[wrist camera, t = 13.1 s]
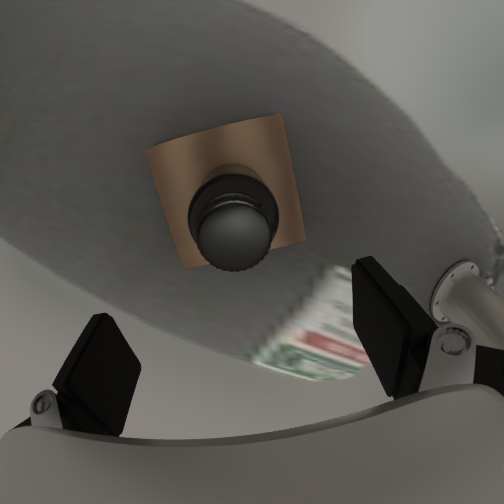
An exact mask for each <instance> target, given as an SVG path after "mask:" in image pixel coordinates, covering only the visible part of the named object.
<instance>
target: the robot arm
mask: <svg viewBox="0 0 504 504" xmlns="http://www.w3.org/2000/svg"><path fill="white" fill-rule="evenodd" d="M351 270H352V292H353V325H354V329H355V331H356V333H357V335H358V337H359V339H360V341H361V343H362V345H363V347H364V349H365V351H366V353H367V355H368V357H369V359H370V361H371V363H372V365H373V367H374V369H375V371H376V373H377V375H378V377H379V380H380V382H381V384H382V386H383V388H384V390H385V392H386V394H387V396H389V397H391V396H393V398H394V400H393V401H391V402H387V403H384V404H381V405H378V406H375V407H372V408H369V409H366V410H363V411H360V412H356V413H353V414H349V415H345V416H342V417H338V418H334V419H330V420H326V421H322V422H318V423H314V424H309V425H305V426H300V427H295V428H290V429H285V430H279V431H273V432H267V433H260V434H254V435H244V436H236V437H224V438H210V439H189V440H188V439H187V440H186V439H185V440H165V439H139V438H125V437H119V435H120V434H121V433H122V431H123V429H124V425H125V421H126V418H127V414H128V411H129V407H130V404H131V401H132V397H133V394H134V391H135V388H136V384H137V381H138V378H139V375H140V372H141V364H140V362H139V360H138V359H137V357H136V355H135V354H134V352H133V351H132V349H131V348H130V346H129V344H128V343H127V341H126V340H125V338H124V336H123V335H122V333H121V331H120V329H119V328H118V326H117V324H116V323H115V321H114V319H113V318H112V317H111V316H109V315H108V314H107V313H101V314H95V315H93V316H92V318H91V319H90V321H89V322H88V324H87V325H86V327H85V329H84V330H83V332H82V333H81V335H80V337H79V338H78V340H77V342H76V343H75V345H74V347H73V348H72V350H71V352H70V353H69V355H68V357H67V358H66V360H65V362H64V364H63V366H62V368H61V369H60V371H59V373H58V375H57V376H56V378H55V380H54V382H53V384H52V386H53V387H55V389H56V390H57V391H58V393H57V395H56V394H55V393H54V392H53V391H52V390H44V391H42V392H40V393H39V394H37V396H35V398H34V399H33V401H32V403H31V406H30V415H31V417H29V418H28V419H26V420H25V421H23V422H22V423H20V424H19V425H17V426H16V427H14V428H13V429H11V430H9V431H8V432H7V433H5V434H4V435H3V437H2V438H1V440H0V504H504V299H503V298H502V297H501V296H500V295H499V294H498V293H496V292H495V291H494V287H493V285H490V284H492V282H493V279H492V277H489V278H487V279H483V278H482V277H481V276H480V273H479V269H478V267H477V265H476V264H475V263H473V262H472V261H469V260H464V261H461V262H458V263H457V264H455V265H454V266H453V267H451V268H450V269H449V270H448V271H447V272H446V273H445V274H444V276H443V277H442V278H441V280H440V281H439V283H438V285H437V287H436V289H435V291H434V293H433V296H432V300H431V313H432V315H433V316H434V317H435V319H436V320H438V321H440V322H446V321H449V322H450V323H451V324H445V325H442V326H441V327H438V326H437V325H436V324H435V323H434V321H433V320H432V319H431V318H430V317H429V315H428V314H427V313H426V312H425V311H424V310H423V308H422V307H421V306H420V305H419V304H418V303H417V301H416V300H415V299H414V298H413V297H412V296H411V295H410V294H409V292H408V291H407V290H406V289H405V288H404V287H403V286H402V285H399V284H398V283H397V282H396V281H395V280H394V279H393V278H392V277H391V276H390V275H389V274H388V273H387V271H386V270H385V269H384V268H383V267H382V266H381V265H380V264H379V263H378V262H377V261H376V260H375V259H374V258H373V257H372V256H368V257H364V258H360V259H357V260H356V262H355V264H353V265H352V267H351Z"/></svg>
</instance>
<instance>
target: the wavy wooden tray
mask: <svg viewBox="0 0 504 504" xmlns="http://www.w3.org/2000/svg"><path fill="white" fill-rule="evenodd" d="M145 151H146V155H147V158H148V162H149V165H150V169H151V172H152V175H153V179H154V182H155V185H156V188H157V192H158V195H159V198H160V201H161V204H162V207H163V210H164V213H165V216H166V219H167V222H168V225H169V228H170V231H171V234H172V237H173V240H174V243H175V245H176V248H177V251H178V254H179V256H180V259H181V262H182V265H183V267H184V270H186V269H190V268H194V267H199V266H203V265H207V264H210V263H209V262H208V261H206V260H205V259H204V257H203V256H202V255H201V254H200V251H199V250H198V248H197V244H196V243H195V242H194V240H193V238H192V236H191V234H190V231H189V228H188V221H187V215H188V208H189V205H190V202H191V199H192V197H193V196H194V194H195V192H196V190H197V189H198V187H199V186H200V184H201V182H202V181H203V179H204V178H205V177H206V176H207V175H208V174H209V173H210V172H211V171H212V170H213V169H215V168H217V167H219V166H222V165H225V164H241V165H244V166H247V167H249V168H251V169H252V170H254V171H255V172H256V173H257V174H258V175H259V176H260V177H261V178H262V180H263V181H264V183H265V184H266V185H267V187H268V188H269V189H270V191H271V192H272V194H273V196H274V197H275V200H276V202H277V205H278V209H279V226H278V230H277V233H276V235H275V237H274V239H273V241H272V242H271V248H270V249H269V250H271V249H275V248H280V247H284V246H288V245H292V244H297V243H301V242H305V241H306V237H305V230H304V224H303V218H302V212H301V207H300V201H299V195H298V190H297V184H296V179H295V174H294V169H293V164H292V159H291V154H290V149H289V144H288V140H287V135H286V130H285V126H284V121H283V117H282V113H280V114H274V115H269V116H264V117H259V118H254V119H249V120H244V121H240V122H236V123H231V124H227V125H223V126H219V127H215V128H211V129H208V130H204V131H200V132H197V133H193V134H190V135H187V136H183V137H180V138H177V139H174V140H171V141H167V142H164V143H161V144H158V145H156V146H153V147H150V148H147V149H145Z"/></svg>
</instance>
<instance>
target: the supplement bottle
mask: <svg viewBox="0 0 504 504" xmlns="http://www.w3.org/2000/svg"><path fill="white" fill-rule="evenodd" d="M187 221H188V228H189V231H190V234H191V236H192V238H193V240H194V242H195V243H196V244H197V248H198V250H199V251H200V254H201V255H202V256H203V257H204V259H205V260H206V261H208V262H209V263H210V265H213V266H215V267H216V268H218V269H222V270H223V271H230V272H233V271H236V272H239V271H241V270H247V269H248V268H252V267H253V266H254V265H257V264H258V263H259V262H260V261H261V260H263V259H264V256H265V255H267V254H268V250H269V249H270V248H271V242H272V241H273V239H274V237H275V235H276V233H277V230H278V226H279V209H278V205H277V202H276V200H275V197H274V196H273V194H272V192H271V191H270V189H269V188H268V187H267V185H266V184H265V183H264V181H263V180H262V178H261V177H260V176H259V175H258V174H257V173H256V172H255V171H254V170H252V169H251V168H249V167H247V166H244V165H241V164H225V165H222V166H219V167H217V168H215V169H213V170H212V171H211V172H210V173H209V174H208V175H207V176H206V177H205V178H204V179H203V181H202V182H201V184H200V186H199V187H198V189H197V190H196V192H195V194H194V196H193V197H192V199H191V202H190V205H189V208H188V215H187Z"/></svg>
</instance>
